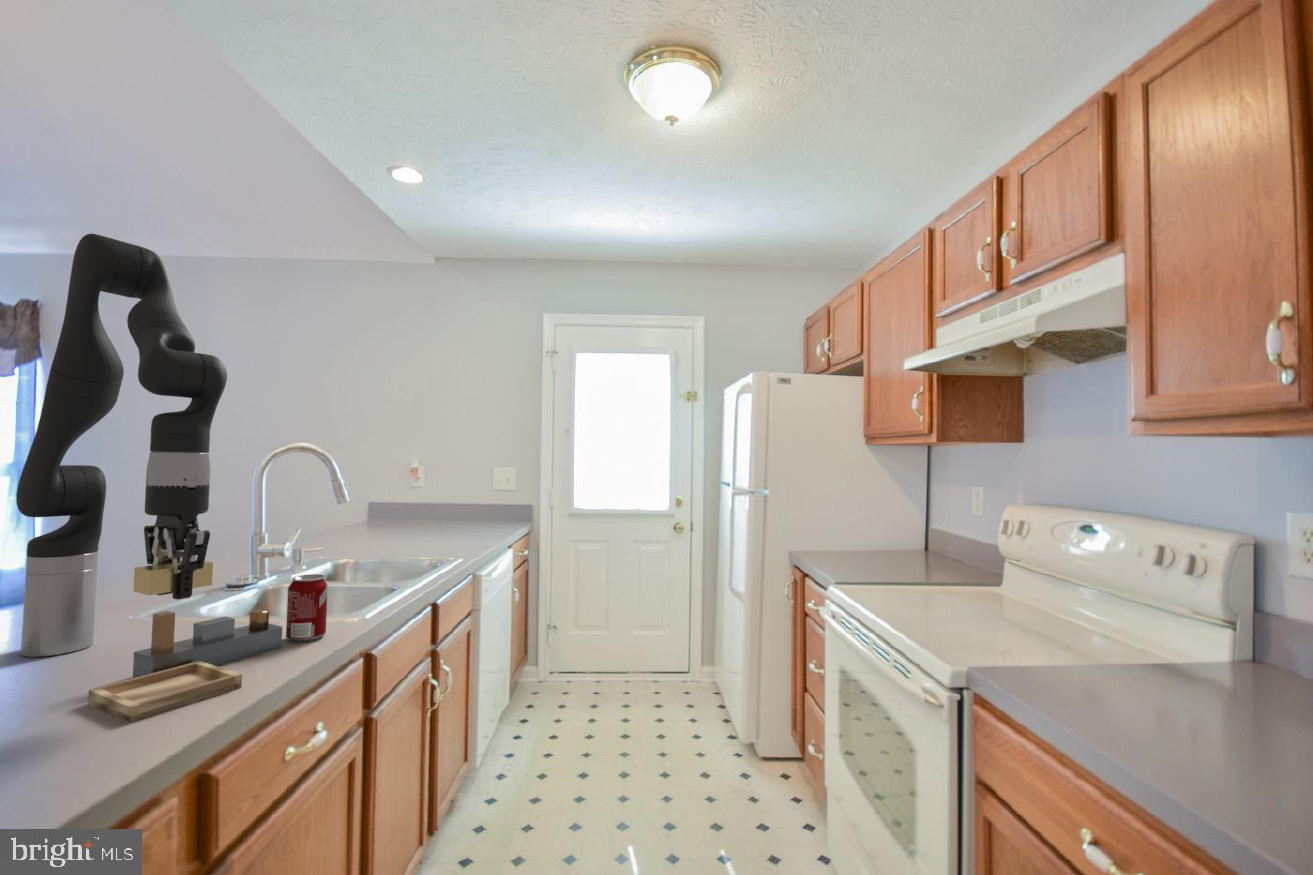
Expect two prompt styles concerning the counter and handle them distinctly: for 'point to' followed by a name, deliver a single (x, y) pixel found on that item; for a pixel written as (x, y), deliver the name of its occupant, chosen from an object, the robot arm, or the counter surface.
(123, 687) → the parts tray
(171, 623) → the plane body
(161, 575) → the pale wooden block
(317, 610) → the soda can
